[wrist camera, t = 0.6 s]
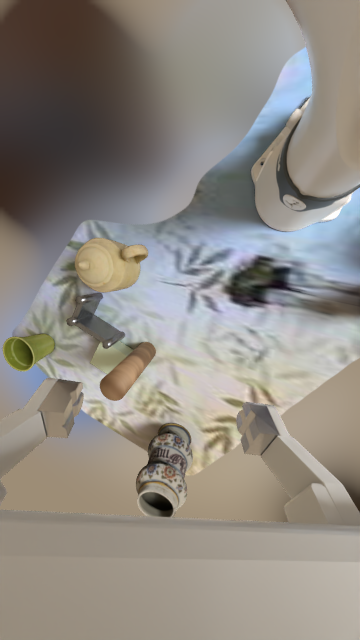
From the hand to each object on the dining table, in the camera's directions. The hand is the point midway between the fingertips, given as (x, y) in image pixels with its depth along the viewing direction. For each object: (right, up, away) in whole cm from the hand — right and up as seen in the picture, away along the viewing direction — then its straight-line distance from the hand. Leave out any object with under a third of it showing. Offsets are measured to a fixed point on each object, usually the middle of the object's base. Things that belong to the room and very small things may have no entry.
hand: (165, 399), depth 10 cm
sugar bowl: (-13, +19, +39) cm, 45 cm away
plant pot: (-39, -3, +49) cm, 63 cm away
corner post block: (-18, +5, +43) cm, 46 cm away
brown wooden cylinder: (-8, -4, +43) cm, 44 cm away
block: (-17, -5, +45) cm, 49 cm away
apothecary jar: (-1, -30, +48) cm, 57 cm away
